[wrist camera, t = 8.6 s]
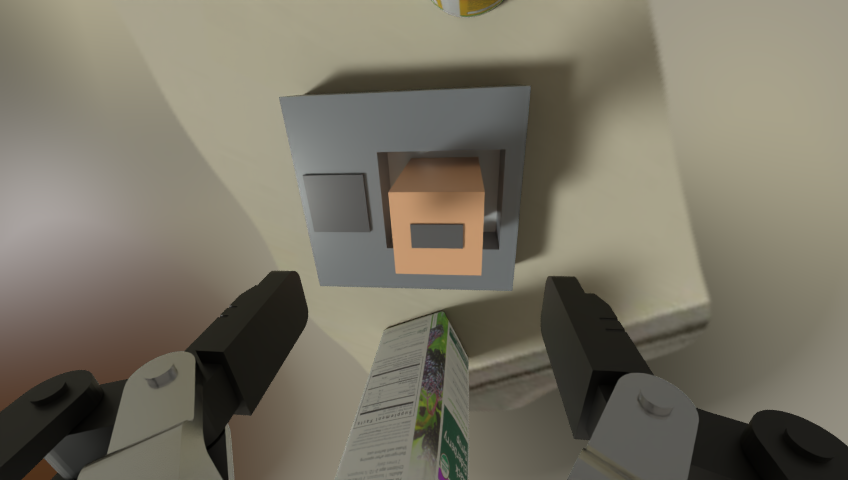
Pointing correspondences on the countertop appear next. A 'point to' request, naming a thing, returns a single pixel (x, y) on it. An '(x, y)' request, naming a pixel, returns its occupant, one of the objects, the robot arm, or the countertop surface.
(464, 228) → the block
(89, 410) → the robot arm
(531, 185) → the countertop surface
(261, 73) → the countertop surface
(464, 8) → the supplement bottle
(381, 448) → the syrup box
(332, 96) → the plate
